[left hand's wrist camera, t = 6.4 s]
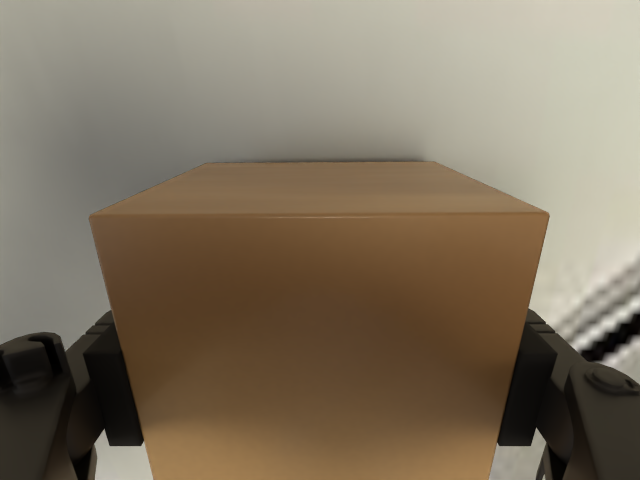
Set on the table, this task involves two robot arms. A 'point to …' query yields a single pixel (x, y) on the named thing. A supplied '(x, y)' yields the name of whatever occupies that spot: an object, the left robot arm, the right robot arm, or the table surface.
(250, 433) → the wide beam
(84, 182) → the table surface
